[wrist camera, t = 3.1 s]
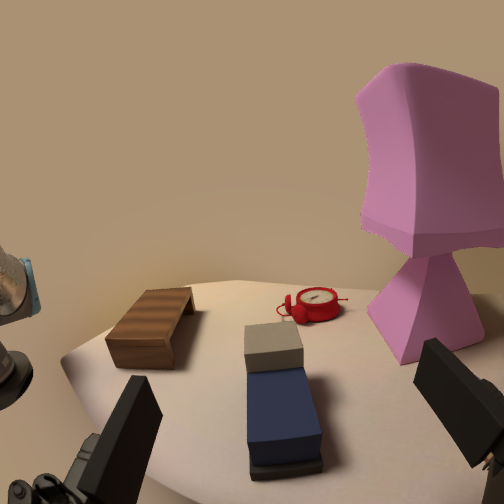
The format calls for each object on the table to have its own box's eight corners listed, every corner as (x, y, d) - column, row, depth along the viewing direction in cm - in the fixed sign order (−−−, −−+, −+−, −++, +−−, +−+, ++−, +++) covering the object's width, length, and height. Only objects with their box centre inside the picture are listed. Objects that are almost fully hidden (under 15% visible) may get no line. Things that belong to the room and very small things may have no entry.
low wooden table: (173, 369, 43) (164, 338, 41) (115, 367, 43) (104, 338, 41) (195, 310, 66) (191, 286, 65) (151, 313, 66) (146, 290, 65)
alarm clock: (353, 298, 55) (290, 299, 51) (347, 324, 56) (285, 328, 52) (329, 283, 65) (272, 282, 61) (325, 307, 66) (269, 308, 62)
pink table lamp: (490, 342, 33) (499, 87, 22) (395, 371, 35) (392, 57, 24) (439, 297, 55) (436, 109, 44) (359, 310, 57) (349, 100, 46)
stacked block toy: (321, 472, 21) (330, 421, 19) (251, 480, 21) (239, 432, 19) (297, 369, 41) (295, 316, 38) (249, 375, 41) (242, 322, 38)
